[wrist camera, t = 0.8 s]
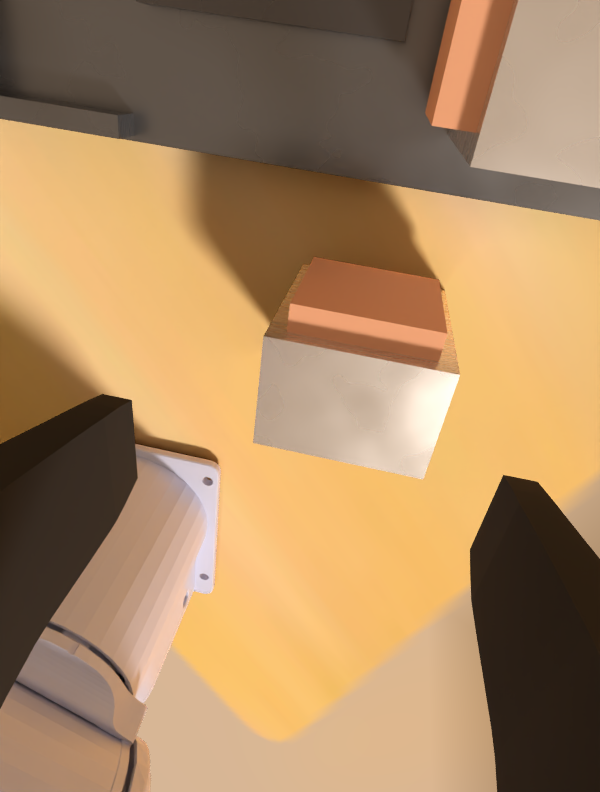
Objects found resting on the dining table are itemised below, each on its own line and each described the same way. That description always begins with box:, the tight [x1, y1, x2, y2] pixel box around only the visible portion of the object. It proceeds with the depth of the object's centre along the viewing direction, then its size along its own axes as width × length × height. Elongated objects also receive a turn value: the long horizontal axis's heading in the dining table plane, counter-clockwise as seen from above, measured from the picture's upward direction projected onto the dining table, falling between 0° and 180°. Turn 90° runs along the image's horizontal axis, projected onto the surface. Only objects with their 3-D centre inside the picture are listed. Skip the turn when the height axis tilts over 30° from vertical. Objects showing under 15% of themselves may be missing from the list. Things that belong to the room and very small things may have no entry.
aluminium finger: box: [253, 257, 460, 479], centre depth 16 cm, size 4×5×6 cm
